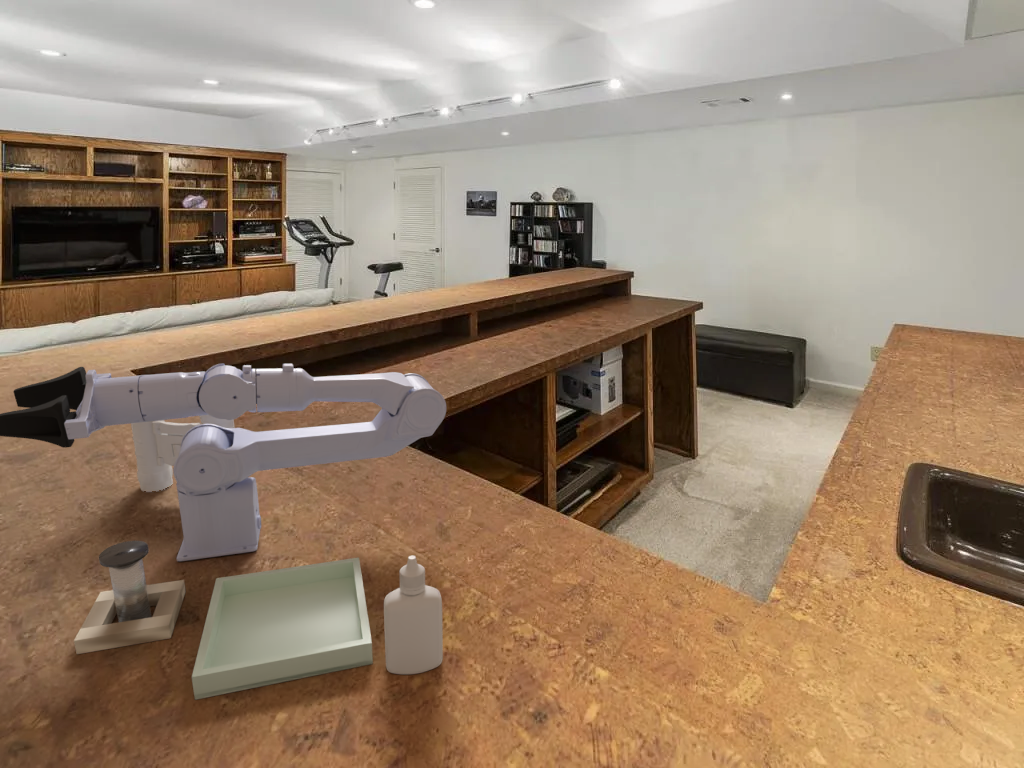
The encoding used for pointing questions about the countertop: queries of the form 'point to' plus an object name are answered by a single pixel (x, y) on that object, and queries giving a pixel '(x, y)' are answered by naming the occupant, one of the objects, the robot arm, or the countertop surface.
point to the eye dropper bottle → (413, 623)
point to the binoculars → (162, 449)
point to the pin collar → (106, 635)
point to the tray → (283, 627)
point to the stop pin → (128, 579)
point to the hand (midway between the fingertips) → (5, 411)
